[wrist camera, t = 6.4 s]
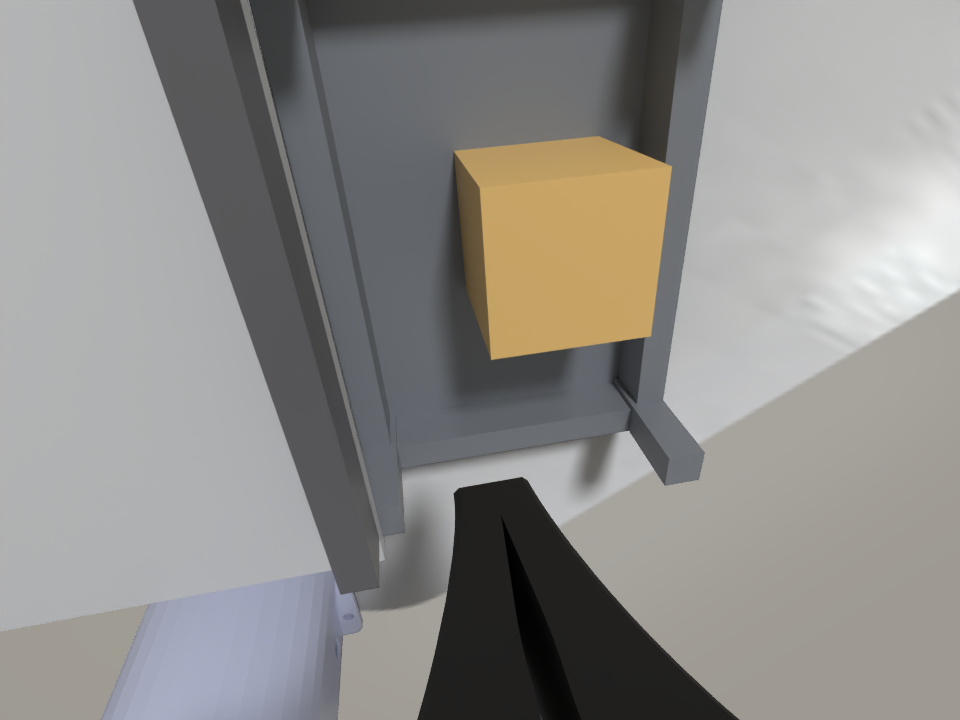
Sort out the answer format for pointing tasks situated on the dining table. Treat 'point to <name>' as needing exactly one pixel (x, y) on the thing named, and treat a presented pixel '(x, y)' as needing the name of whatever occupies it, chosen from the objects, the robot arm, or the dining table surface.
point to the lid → (160, 322)
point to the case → (435, 211)
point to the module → (561, 242)
